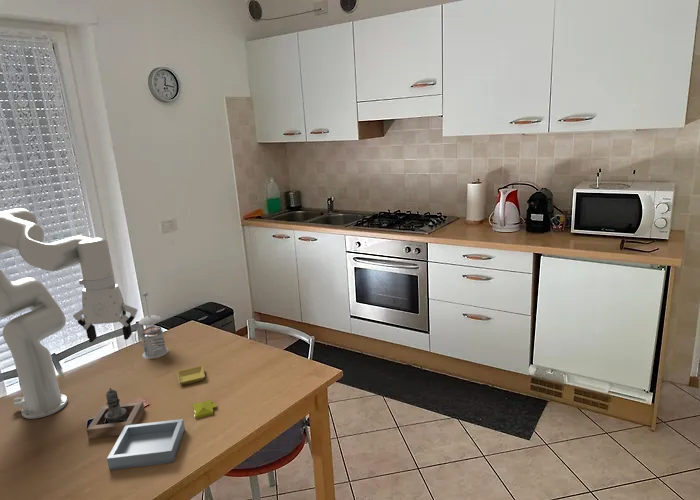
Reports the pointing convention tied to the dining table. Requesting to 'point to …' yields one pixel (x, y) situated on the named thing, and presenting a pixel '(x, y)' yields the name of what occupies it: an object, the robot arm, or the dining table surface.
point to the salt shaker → (114, 408)
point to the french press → (152, 337)
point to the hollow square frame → (114, 429)
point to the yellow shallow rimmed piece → (191, 375)
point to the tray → (146, 444)
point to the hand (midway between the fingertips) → (110, 338)
